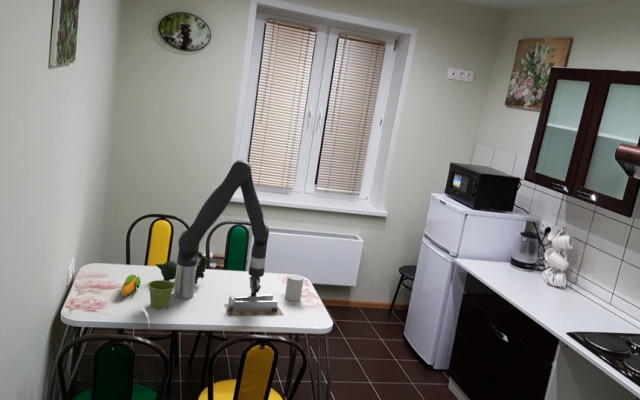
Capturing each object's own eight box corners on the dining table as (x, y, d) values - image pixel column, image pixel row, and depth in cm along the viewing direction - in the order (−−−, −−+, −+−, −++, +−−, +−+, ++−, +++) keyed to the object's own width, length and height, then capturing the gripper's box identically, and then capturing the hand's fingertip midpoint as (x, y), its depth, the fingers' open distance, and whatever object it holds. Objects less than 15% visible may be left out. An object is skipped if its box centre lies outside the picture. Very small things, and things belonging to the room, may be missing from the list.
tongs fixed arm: (228, 312, 252) (230, 300, 251) (227, 308, 256) (228, 296, 255) (277, 311, 261) (279, 299, 260) (275, 308, 264) (276, 296, 263)
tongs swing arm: (234, 308, 257) (235, 298, 256) (233, 307, 258) (234, 297, 257) (272, 304, 268) (273, 295, 267) (270, 303, 269) (271, 293, 268)
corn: (143, 271, 268) (132, 286, 249) (143, 286, 270) (132, 302, 250) (127, 270, 268) (115, 285, 248) (127, 285, 269) (115, 301, 250)
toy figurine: (202, 284, 288) (154, 276, 283) (209, 250, 285) (160, 242, 280) (201, 291, 279) (151, 283, 274) (208, 256, 275) (158, 247, 270)
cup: (294, 303, 276) (297, 281, 274) (281, 298, 280) (284, 276, 278) (303, 299, 283) (306, 277, 280) (290, 294, 287) (293, 273, 285)
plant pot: (171, 314, 244) (174, 290, 242) (144, 312, 241) (146, 288, 239) (173, 303, 255) (175, 280, 253) (147, 302, 253) (149, 279, 251)
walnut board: (229, 317, 249) (229, 315, 248) (224, 306, 260) (224, 304, 260) (283, 317, 258) (283, 315, 258) (276, 305, 270) (276, 304, 270)
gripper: (246, 260, 268) (242, 293, 271) (252, 270, 256) (248, 304, 259) (261, 260, 270) (257, 293, 274) (268, 270, 258) (263, 304, 262)
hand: (252, 298), depth 266 cm, fingers closed
